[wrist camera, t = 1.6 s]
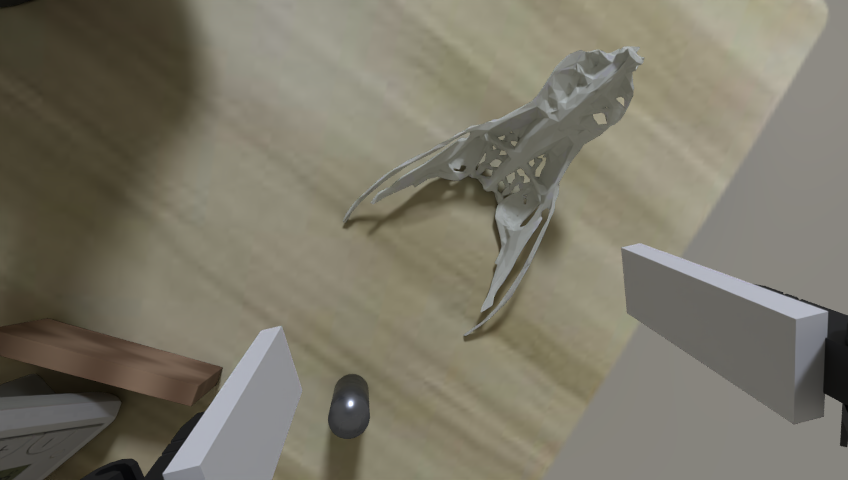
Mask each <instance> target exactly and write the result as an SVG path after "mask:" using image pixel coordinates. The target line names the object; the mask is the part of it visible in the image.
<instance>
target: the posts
mask: <svg viewBox="0 0 848 480" xmlns="http://www.w3.org/2000/svg"><path fill="white" fill-rule="evenodd" d="M369 419H370V412H369V391H368V385H367V383H366V381H365V380H364V379H363V378H362V377H361V376H359V375H355V374H349V375H346V376H344V377H342V378H341V379H340V380H339V381H338V382H337V383H336V385H335V388H334V393H333V398H332V402H331V407H330V411H329V416H328V423H329V426H330V429H331V430H332V432H333V433H334V434H335V435H337V436H338V437H340V438H344V439H351V438H355V437H357V436H359V435H360V434H362V433H363V432H364V431H365V429H366V428H367V426H368V423H369Z"/></svg>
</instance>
